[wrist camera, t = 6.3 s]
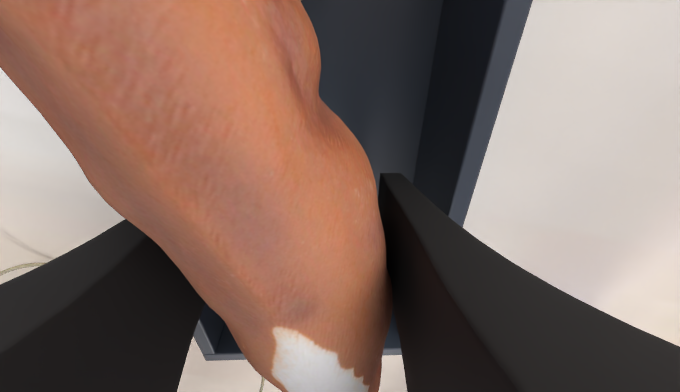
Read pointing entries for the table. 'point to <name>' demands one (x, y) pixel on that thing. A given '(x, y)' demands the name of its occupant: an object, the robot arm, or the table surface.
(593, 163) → the table surface
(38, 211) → the table surface
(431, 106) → the tote
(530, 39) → the table surface
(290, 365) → the bull figurine
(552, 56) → the table surface
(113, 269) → the robot arm
